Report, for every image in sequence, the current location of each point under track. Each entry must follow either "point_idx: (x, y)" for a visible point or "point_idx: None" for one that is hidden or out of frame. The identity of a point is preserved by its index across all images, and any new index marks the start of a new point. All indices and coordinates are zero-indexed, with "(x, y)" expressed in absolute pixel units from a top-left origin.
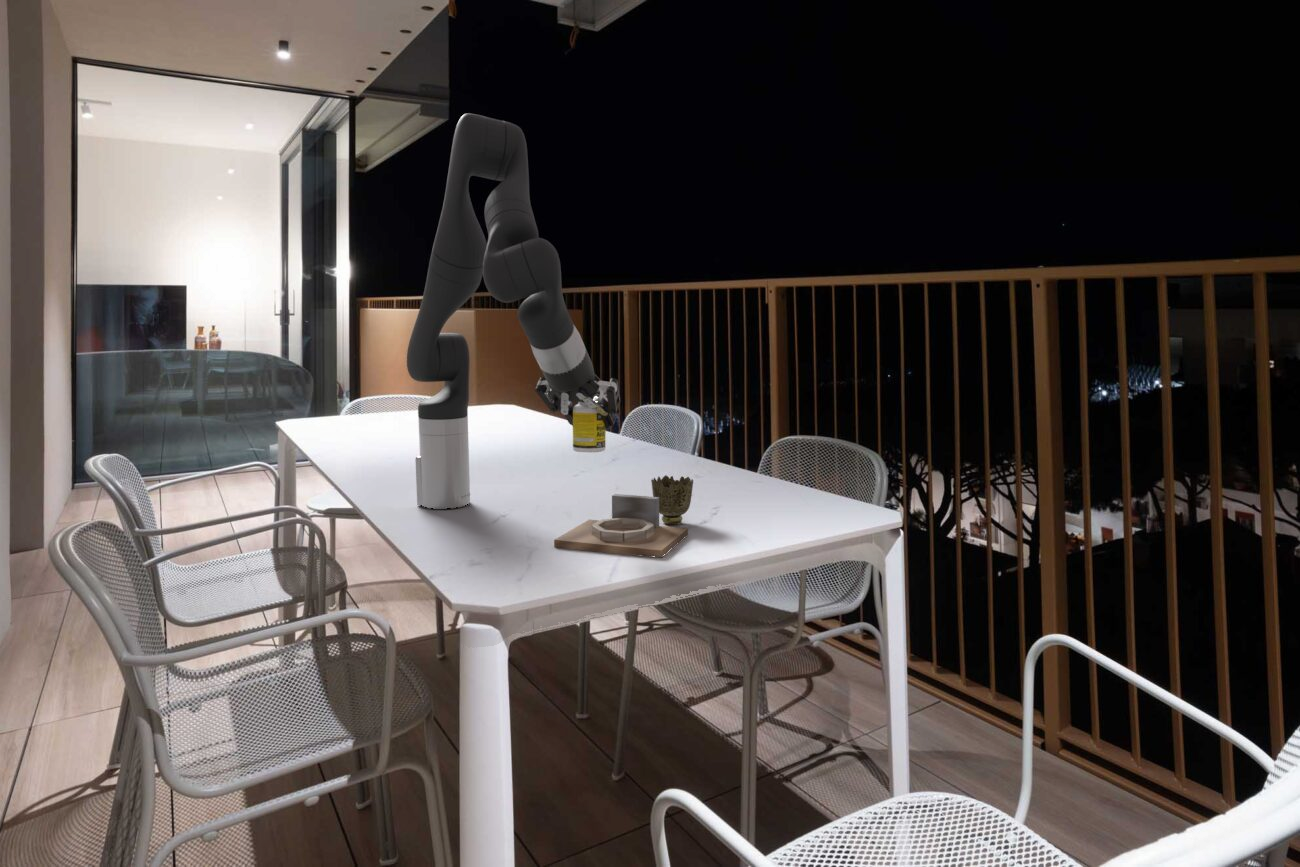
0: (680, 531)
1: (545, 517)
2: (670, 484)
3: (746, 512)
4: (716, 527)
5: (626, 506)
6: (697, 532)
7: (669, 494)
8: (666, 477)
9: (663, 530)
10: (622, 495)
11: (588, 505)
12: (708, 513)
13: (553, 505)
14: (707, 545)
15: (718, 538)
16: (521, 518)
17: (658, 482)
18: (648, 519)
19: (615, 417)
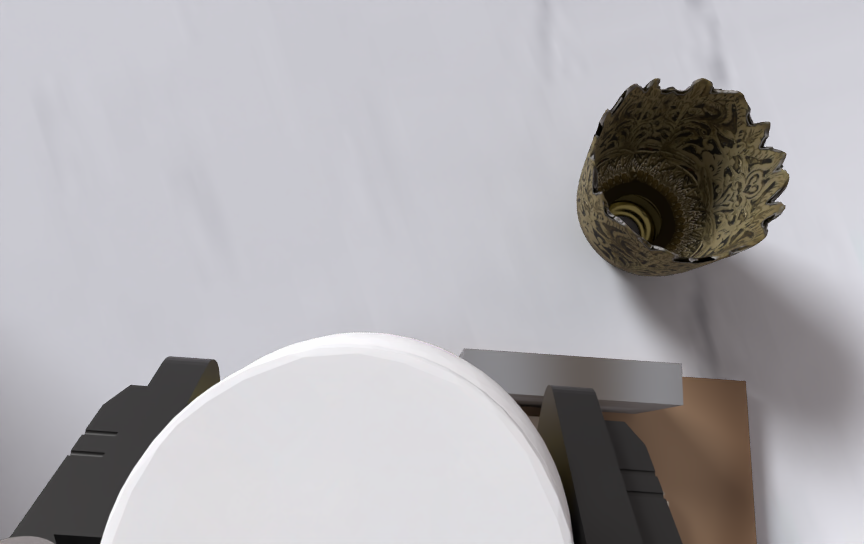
0: (736, 435)
1: (126, 270)
2: (639, 107)
3: (811, 29)
4: (786, 248)
5: (526, 399)
6: (748, 332)
7: (689, 267)
8: (633, 92)
9: (671, 439)
10: (508, 372)
11: (239, 57)
12: (696, 70)
13: (102, 87)
14: (842, 498)
15: (844, 392)
16: (32, 310)
17: (601, 132)
18: (613, 409)
19: (647, 453)
